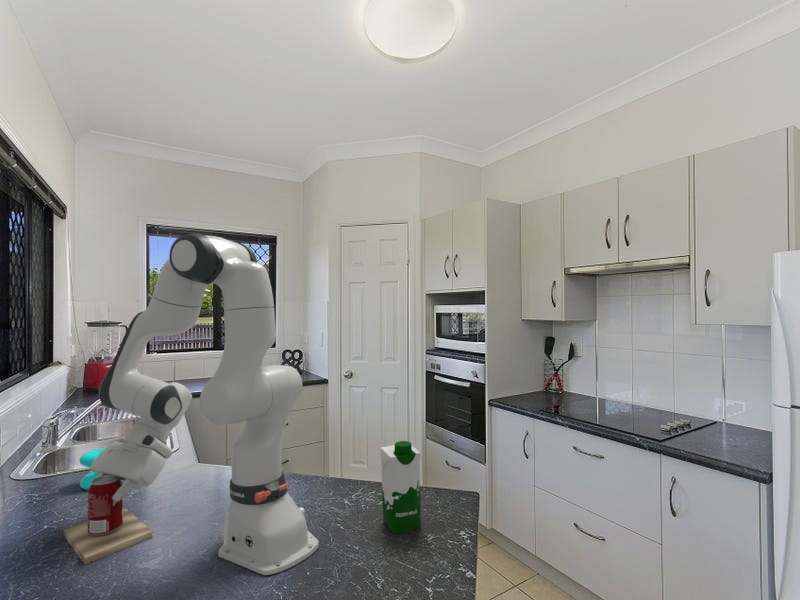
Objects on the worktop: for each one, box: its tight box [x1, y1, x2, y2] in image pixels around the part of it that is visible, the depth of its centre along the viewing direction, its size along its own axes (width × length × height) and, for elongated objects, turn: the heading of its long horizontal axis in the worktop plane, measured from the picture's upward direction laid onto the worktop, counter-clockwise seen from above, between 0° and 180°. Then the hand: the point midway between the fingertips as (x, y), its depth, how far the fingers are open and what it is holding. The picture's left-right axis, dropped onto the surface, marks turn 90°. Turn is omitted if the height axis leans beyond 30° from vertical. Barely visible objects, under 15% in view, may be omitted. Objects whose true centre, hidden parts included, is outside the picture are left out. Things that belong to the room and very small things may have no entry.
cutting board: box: [63, 508, 153, 565], centre depth 101 cm, size 18×13×2 cm
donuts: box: [79, 447, 106, 491], centre depth 131 cm, size 10×10×10 cm
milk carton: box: [379, 440, 422, 535], centre depth 103 cm, size 9×9×20 cm
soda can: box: [87, 475, 124, 536], centre depth 101 cm, size 7×7×12 cm
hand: (103, 497), depth 100 cm, fingers closed on soda can, 6 cm apart
